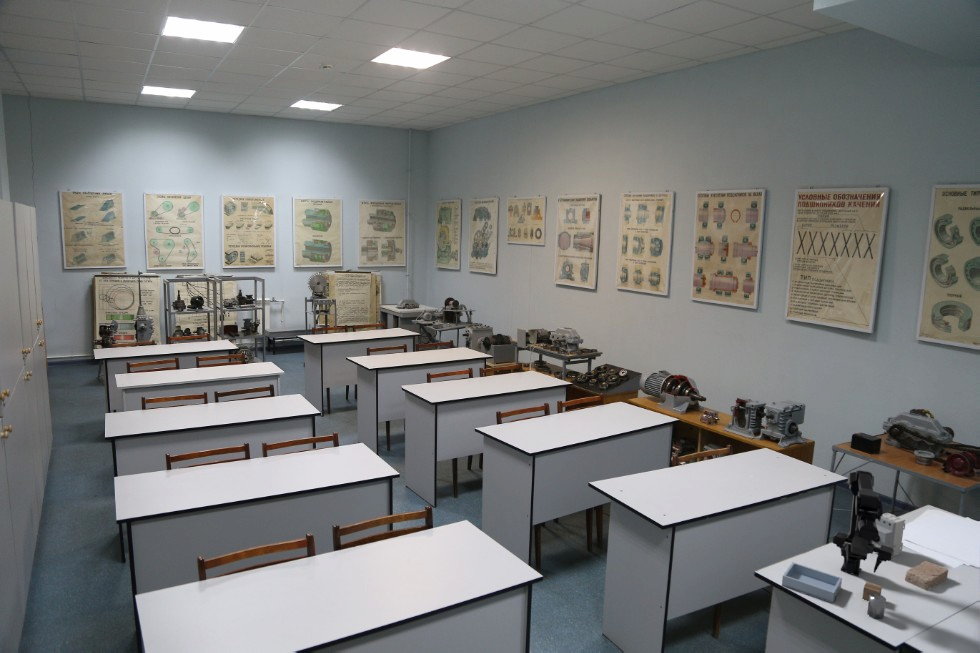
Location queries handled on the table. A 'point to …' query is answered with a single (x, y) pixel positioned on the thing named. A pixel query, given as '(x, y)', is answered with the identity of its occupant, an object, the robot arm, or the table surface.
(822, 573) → the tote
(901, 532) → the circuit breaker
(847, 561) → the robot arm
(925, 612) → the table surface
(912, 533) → the table surface
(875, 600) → the steel cylinder
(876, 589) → the walnut cube
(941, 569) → the brick
